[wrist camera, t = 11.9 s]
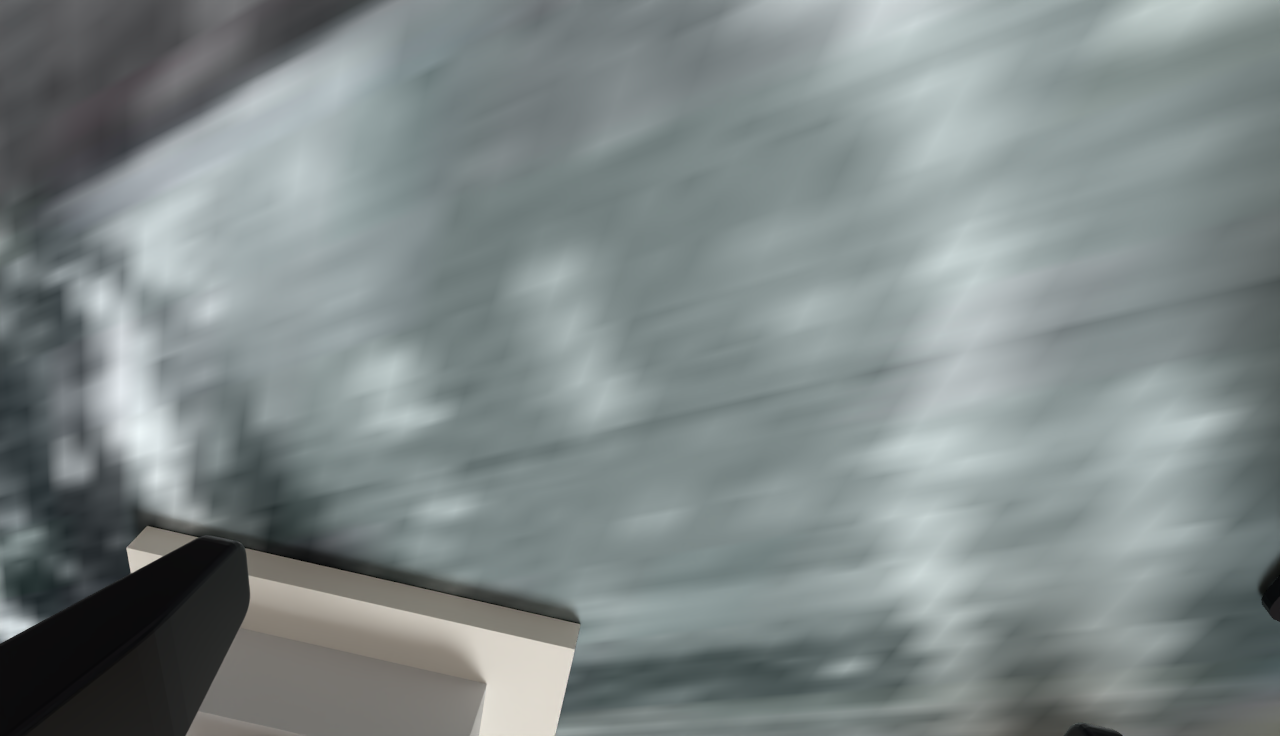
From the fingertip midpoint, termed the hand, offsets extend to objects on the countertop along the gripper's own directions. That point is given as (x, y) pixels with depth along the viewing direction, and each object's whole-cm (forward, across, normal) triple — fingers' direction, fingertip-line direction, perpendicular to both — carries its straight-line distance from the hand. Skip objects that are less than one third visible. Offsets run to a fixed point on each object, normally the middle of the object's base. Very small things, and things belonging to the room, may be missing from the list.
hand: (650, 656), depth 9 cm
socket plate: (+12, +8, +20) cm, 25 cm away
